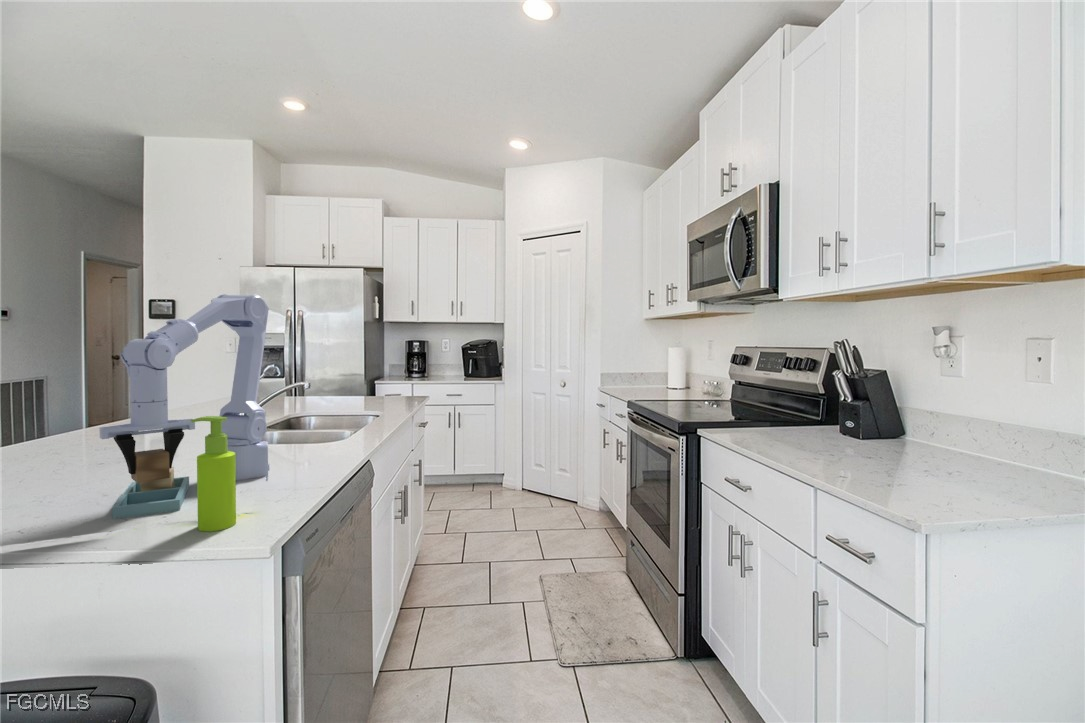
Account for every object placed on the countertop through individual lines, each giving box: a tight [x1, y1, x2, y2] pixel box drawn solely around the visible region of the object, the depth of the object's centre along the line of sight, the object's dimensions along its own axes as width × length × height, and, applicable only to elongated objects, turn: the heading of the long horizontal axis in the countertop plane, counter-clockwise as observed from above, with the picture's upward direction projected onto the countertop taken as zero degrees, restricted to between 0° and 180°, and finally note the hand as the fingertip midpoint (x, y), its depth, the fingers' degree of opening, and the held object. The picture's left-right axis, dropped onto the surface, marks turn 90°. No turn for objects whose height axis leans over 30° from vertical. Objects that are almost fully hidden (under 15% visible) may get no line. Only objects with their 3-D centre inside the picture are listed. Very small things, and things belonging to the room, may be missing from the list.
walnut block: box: [130, 448, 170, 483], centre depth 98 cm, size 5×5×5 cm
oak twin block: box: [140, 466, 175, 491], centre depth 106 cm, size 5×5×5 cm
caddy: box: [111, 476, 190, 520], centre depth 102 cm, size 10×18×3 cm, turn 30°
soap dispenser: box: [190, 415, 237, 532], centre depth 92 cm, size 6×7×20 cm
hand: (150, 470), depth 98 cm, fingers closed on walnut block, 5 cm apart
